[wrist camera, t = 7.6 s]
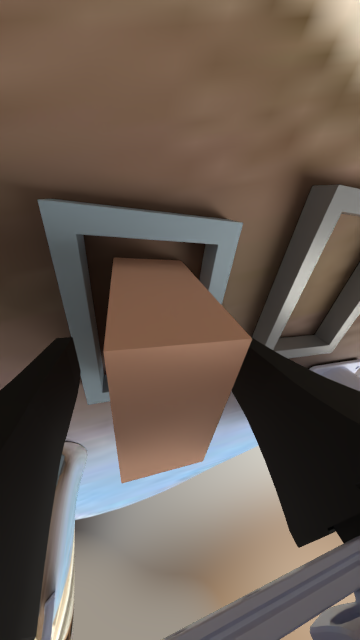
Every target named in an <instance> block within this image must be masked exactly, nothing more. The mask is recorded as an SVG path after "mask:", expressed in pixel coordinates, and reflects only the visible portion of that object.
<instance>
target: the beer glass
mask: <svg viewBox="0 0 360 640" xmlns="http://www.w3.org/2000/svg"><path fill="white" fill-rule="evenodd" d="M87 456H88V454H87V450H86V449H85V448H84V447H83V446H81V445H79V444H76V443H73V442H65V443H64V447H63V452H62V456H61V461H60V466H59V472H58V478H57V484H56V490H55V496H54V503H53V509H52V516H51V522H50V529H49V537H48V544H47V551H46V559H45V566H44V574H43V582H42V590H41V599H40V607H39V616H38V625H37V634H36V637H35V639H34V640H72V639H73V618H74V533H75V528H74V527H75V511H76V501H77V496H78V490H79V486H80V482H81V479H82V475H83V472H84V468H85V465H86V461H87Z"/></svg>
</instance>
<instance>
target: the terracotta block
mask: <svg viewBox="0 0 360 640" xmlns="http://www.w3.org/2000/svg"><path fill="white" fill-rule="evenodd" d="M251 341H252V338H251V337H250V336H249V335H248V334H247V332H246V331H245V330H244V329H243V328H242V327H241V326H240V325H239V324H238V323H237V322H236V320H235V319H234V318H233V317H232V316H231V315H230V314H229V313H228V312H227V311H226V309H225V308H224V307H223V306H222V305H221V304H220V303H219V302H218V301H217V300H216V299H215V297H214V296H213V295H212V294H211V293H210V292H209V291H208V290H207V289H206V288H205V287H204V285H203V284H202V283H201V282H200V281H199V280H198V279H197V278H196V277H195V276H194V274H193V273H192V272H191V271H190V270H189V269H188V268H187V267H186V266H185V265H184V264H183V262H182V261H181V260H159V259H137V258H113V267H112V277H111V286H110V295H109V305H108V314H107V323H106V333H105V342H104V351H103V352H104V359H105V366H106V374H107V381H108V388H109V395H110V403H111V410H112V417H113V424H114V432H115V439H116V446H117V453H118V461H119V468H120V475H121V482H122V483H125V482H129V481H132V480H136V479H139V478H143V477H147V476H150V475H154V474H158V473H161V472H165V471H169V470H172V469H176V468H180V467H183V466H187V465H191V464H194V463H198V462H202V461H203V460H204V457H205V455H206V452H207V450H208V447H209V445H210V442H211V440H212V437H213V435H214V432H215V430H216V427H217V425H218V423H219V420H220V418H221V415H222V413H223V410H224V408H225V405H226V403H227V400H228V398H229V395H230V393H231V390H232V388H233V385H234V383H235V380H236V378H237V376H238V373H239V371H240V368H241V366H242V363H243V361H244V358H245V356H246V353H247V351H248V348H249V346H250V343H251Z"/></svg>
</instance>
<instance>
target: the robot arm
mask: <svg viewBox="0 0 360 640" xmlns="http://www.w3.org/2000/svg"><path fill="white" fill-rule="evenodd" d="M251 338H252V337H251ZM359 368H360V359H358V360H352V361H345V362H338V363H332V364H325V365H318V366H313V367H311V368H310V369H307V368H305V367H303V366H301V365H299V364H297V363H295V362H293V361H291V360H289V359H288V358H286V357H284V356H282V355H280V354H279V353H277V352H275V351H274V350H272V349H270V348H268V347H267V346H265V345H263V344H262V343H260V342H259V341H257V340H255V339H254V338H252V341H251V343H250V346H249V348H248V351H247V353H246V356H245V358H244V361H243V363H242V366H241V368H240V371H239V373H238V376H237V378H236V380H235V383H234V385H233V388H232V392H233V394H234V396H235V397H236V399H237V401H238V403H239V405H240V406H241V408H242V410H243V412H244V414H245V416H246V418H247V420H248V422H249V424H250V426H251V429H252V431H253V433H254V435H255V438H256V440H257V442H258V445H259V447H260V450H261V452H262V454H263V457H264V459H265V461H266V464H267V467H268V470H269V472H270V475H271V478H272V480H273V483H274V486H275V488H276V491H277V494H278V497H279V500H280V503H281V506H282V509H283V512H284V515H285V518H286V521H287V524H288V527H289V531H290V533H291V535H292V536H293V538H294V541H295V542H296V544H297V546H298V547H302V546H304V545H306V544H309V543H311V542H313V541H315V540H318V539H320V538H322V537H325V536H327V535H329V534H331V533H333V532H335V531H336V532H337V533H338V535H339V536H340V538H341V540H342V541H343V543H344V544H342V545H341V546H338V547H337V548H335V549H333V550H331V551H329V552H327V553H325V554H323V555H321V556H319V557H317V558H316V559H314V560H312V561H310V562H308V563H306V564H304V565H302V566H300V567H299V568H297V569H295V570H293V571H291V572H289V573H287V574H285V575H284V576H281V577H280V578H278V579H276V580H274V581H272V582H270V583H268V584H266V585H264V586H263V587H261V588H259V589H257V590H255V591H253V592H251V593H249V594H247V595H245V596H243V597H242V598H240V599H238V600H236V601H234V602H232V603H230V604H228V605H226V606H225V607H223V608H221V609H219V610H217V611H215V612H213V613H211V614H209V615H207V616H206V617H204V618H202V619H200V620H198V621H196V622H194V623H192V624H190V625H188V626H186V627H185V628H183V629H181V630H179V631H177V632H175V633H173V634H171V635H170V636H168V637H166V638H164V639H162V640H280V639H281V638H283V637H284V636H286V635H287V634H289V633H291V632H292V631H294V630H295V629H297V628H298V627H300V626H302V625H303V624H305V623H306V622H308V621H309V620H311V619H313V618H314V617H316V616H317V615H319V614H320V613H321V615H320V616H319V617H318V618H317V619H316V621H315V622H314V623H313V624H312V626H311V627H310V634H311V636H312V638H313V640H360V377H358V376H357V375H356V374H354V373H355V372H356V371H357V370H358V369H359ZM80 373H81V370H80V366H79V361H78V357H77V353H76V349H75V345H74V341H73V337H69V338H56V339H55V340H54V341H53V342H52V343H51V344H50V345H49V346H48V347H47V348H46V349H45V350H44V351H43V352H42V353H41V354H40V355H38V356H37V357H36V358H35V359H34V360H33V361H32V362H31V363H30V364H29V365H28V366H27V367H26V368H25V369H24V370H23V371H22V372H21V373H19V374H18V375H17V376H16V377H15V378H14V379H13V380H12V381H11V382H9V383H8V384H7V385H6V386H5V387H4V388H3V389H1V390H0V640H34V639H35V637H36V634H37V625H38V616H39V607H40V599H41V590H42V582H43V574H44V566H45V559H46V551H47V544H48V537H49V529H50V522H51V516H52V509H53V503H54V496H55V490H56V484H57V478H58V472H59V466H60V461H61V456H62V452H63V447H64V443H65V440H66V436H67V432H68V428H69V425H70V421H71V417H72V413H73V410H74V406H75V402H76V398H77V394H78V388H79V381H80ZM353 592H354V594H355V597H356V602H352V603H347V604H342V605H338V606H334V607H332V608H330V607H331V606H333V605H334V604H336V603H337V602H339V601H341V600H342V599H344V598H345V597H347V596H348V595H350V594H351V593H353ZM328 608H329V609H328ZM323 611H324V612H323ZM322 612H323V613H322Z"/></svg>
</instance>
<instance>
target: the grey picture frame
mask: <svg viewBox="0 0 360 640" xmlns="http://www.w3.org/2000/svg"><path fill="white" fill-rule="evenodd" d="M37 200H38V204H39V208H40V212H41V216H42V220H43V224H44V228H45V233H46V237H47V241H48V245H49V249H50V253H51V257H52V261H53V265H54V269H55V273H56V277H57V281H58V285H59V290H60V294H61V298H62V302H63V306H64V310H65V314H66V318H67V322H68V326H69V330H70V334H71V337H73V341H74V345H75V349H76V353H77V357H78V361H79V366H80V370H81V373H80V375H81V379H82V383H83V387H84V391H85V395H86V399H87V403H88V405H89V404H96V403H102V402H108V401H110V395H109V388H108V381H107V375H104V371H103V365H102V358H101V351H100V345H99V338H98V331H97V324H96V318H95V311H94V304H93V297H92V291H91V284H90V277H89V271H88V264H87V257H86V250H85V244H84V237H83V235H96V236H109V237H123V238H136V239H150V240H163V241H177V242H190V243H204V244H205V250H204V255H203V261H202V267H201V272H200V278H199V281H200V282H201V283H202V284H203V285H204V287H205V288H206V289H207V290H208V291H209V292H210V293H211V294H212V295H213V296H214V297H215V299H216V300H217V301H218V302H219V303H220V304H221V305H222V301H223V298H224V294H225V290H226V286H227V282H228V278H229V275H230V271H231V267H232V263H233V259H234V255H235V252H236V248H237V244H238V240H239V236H240V232H241V229H242V225H243V223H241V222H237V221H233V220H228V219H220V218H212V217H203V216H195V215H186V214H178V213H169V212H161V211H152V210H144V209H135V208H127V207H118V206H110V205H101V204H92V203H84V202H75V201H67V200H58V199H37Z"/></svg>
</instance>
